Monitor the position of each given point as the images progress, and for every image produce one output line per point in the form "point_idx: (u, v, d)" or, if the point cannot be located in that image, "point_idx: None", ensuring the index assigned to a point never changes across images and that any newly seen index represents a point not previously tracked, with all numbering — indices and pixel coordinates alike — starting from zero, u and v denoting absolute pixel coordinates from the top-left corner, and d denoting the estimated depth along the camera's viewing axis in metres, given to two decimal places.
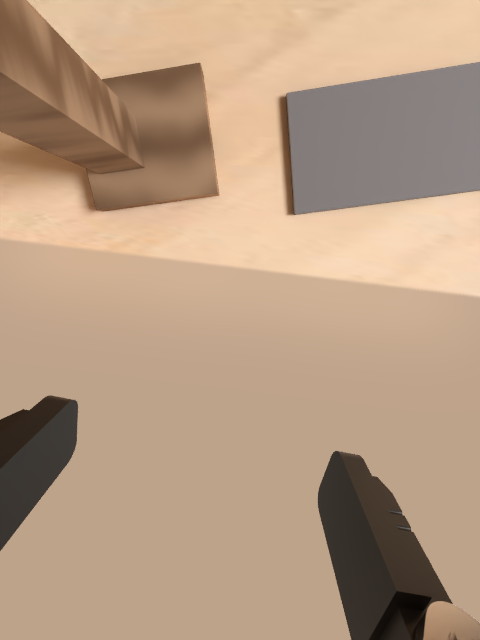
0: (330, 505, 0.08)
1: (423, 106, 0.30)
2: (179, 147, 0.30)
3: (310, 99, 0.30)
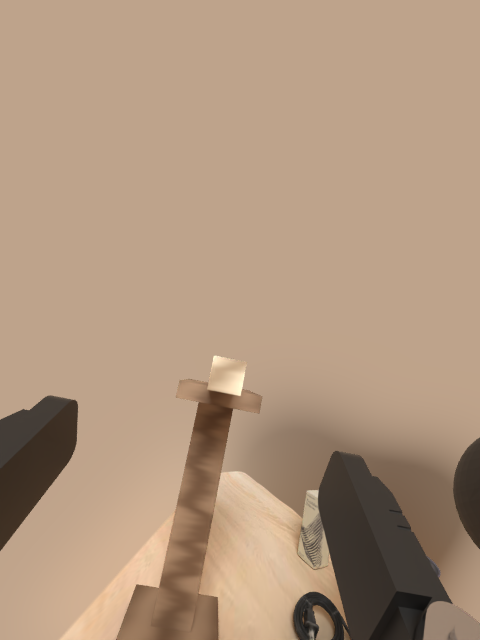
0: (330, 505, 0.08)
1: None
2: None
3: None
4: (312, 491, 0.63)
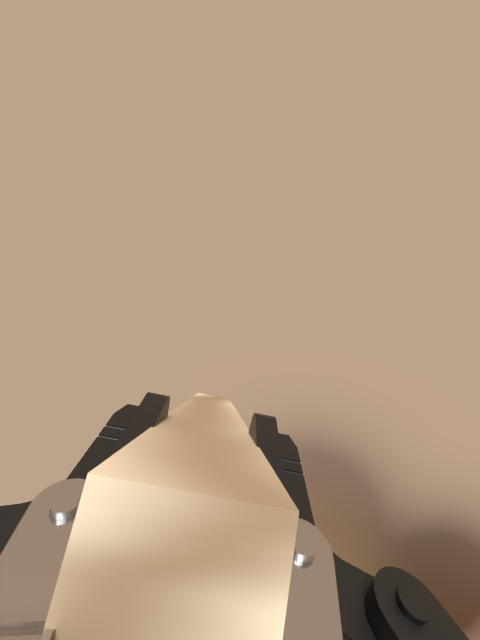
0: None
1: None
2: None
3: None
4: None
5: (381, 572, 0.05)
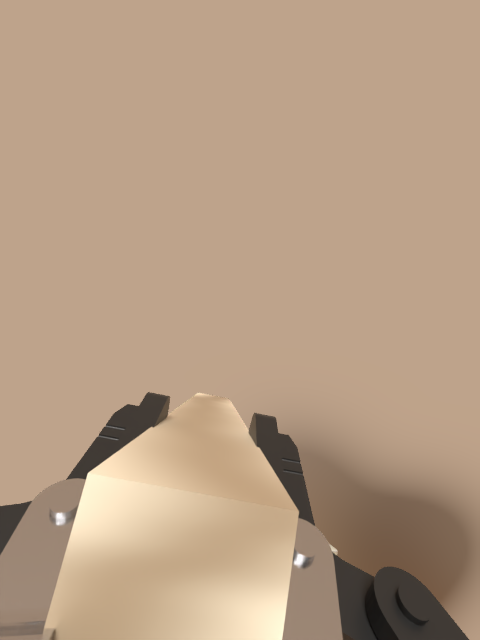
0: None
1: None
2: None
3: None
4: None
5: (381, 572, 0.05)
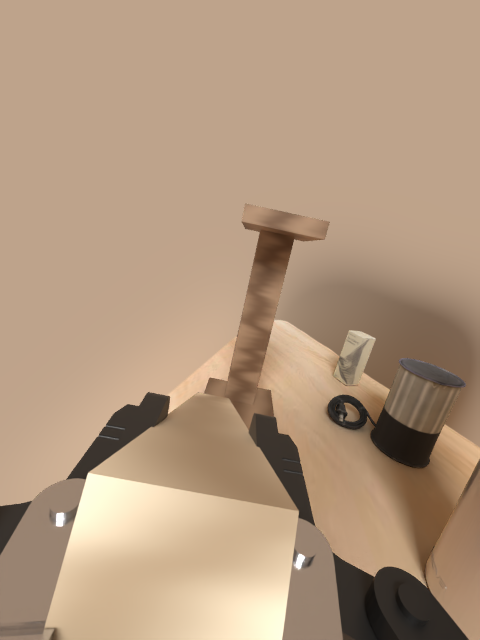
0: None
1: None
2: None
3: None
4: (354, 331, 0.70)
5: (381, 572, 0.05)
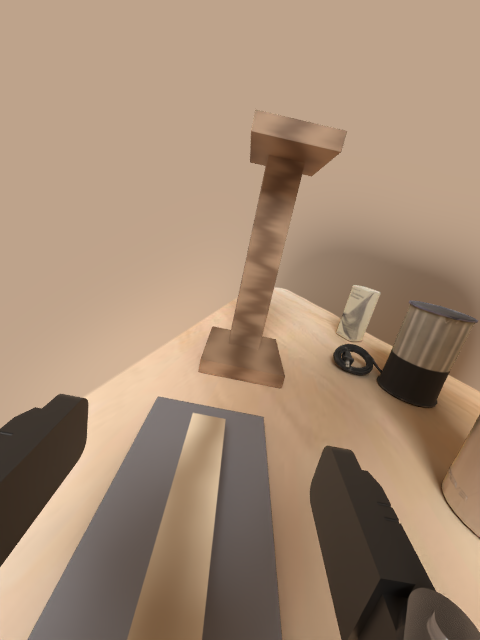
0: (321, 499, 0.08)
1: (228, 541, 0.19)
2: (236, 355, 0.43)
3: (256, 429, 0.30)
4: (358, 286, 0.68)
5: None
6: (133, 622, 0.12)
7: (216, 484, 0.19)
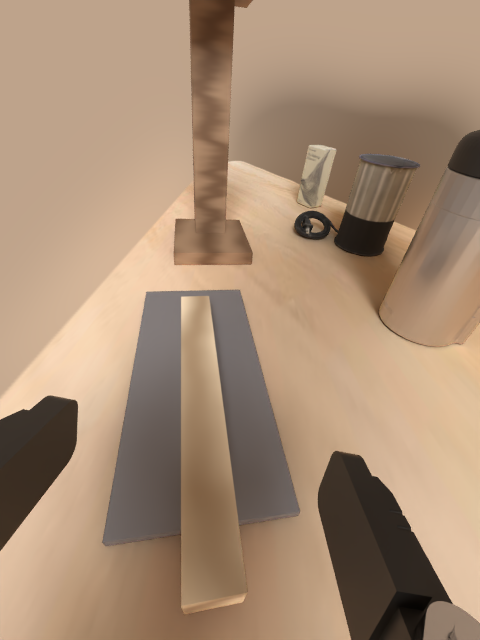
0: (330, 505, 0.08)
1: (229, 371, 0.27)
2: (205, 243, 0.46)
3: (235, 300, 0.36)
4: (314, 145, 0.65)
5: None
6: (182, 412, 0.20)
7: (213, 338, 0.26)
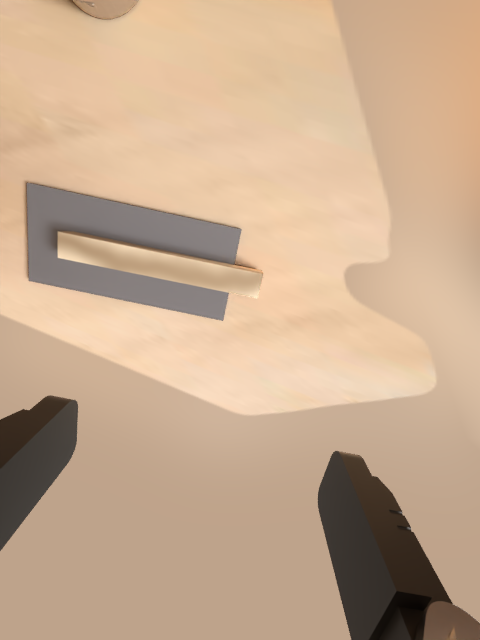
0: (330, 505, 0.08)
1: (140, 234, 0.35)
2: None
3: (47, 194, 0.34)
4: None
5: None
6: (177, 281, 0.34)
7: (118, 245, 0.33)
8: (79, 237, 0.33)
